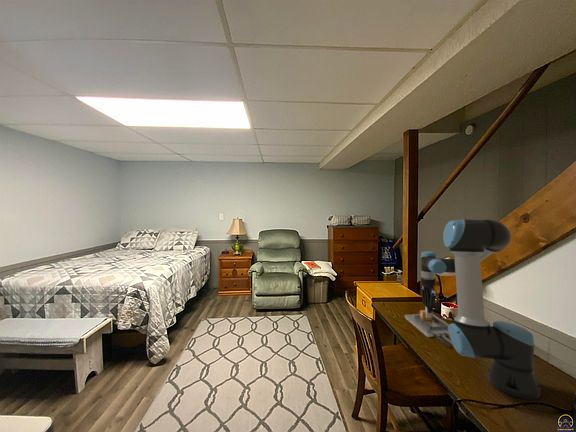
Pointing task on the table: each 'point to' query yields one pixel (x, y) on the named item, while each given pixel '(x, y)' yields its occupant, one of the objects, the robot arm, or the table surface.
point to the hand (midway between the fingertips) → (428, 317)
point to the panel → (429, 325)
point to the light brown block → (423, 315)
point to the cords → (445, 339)
